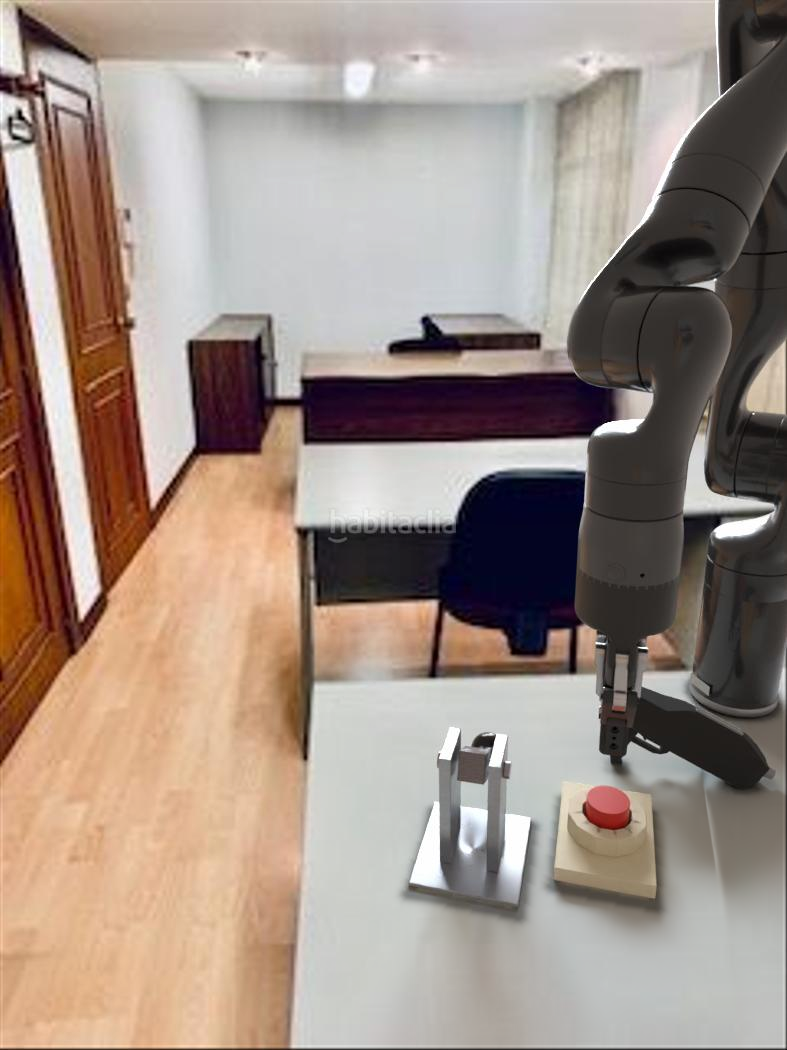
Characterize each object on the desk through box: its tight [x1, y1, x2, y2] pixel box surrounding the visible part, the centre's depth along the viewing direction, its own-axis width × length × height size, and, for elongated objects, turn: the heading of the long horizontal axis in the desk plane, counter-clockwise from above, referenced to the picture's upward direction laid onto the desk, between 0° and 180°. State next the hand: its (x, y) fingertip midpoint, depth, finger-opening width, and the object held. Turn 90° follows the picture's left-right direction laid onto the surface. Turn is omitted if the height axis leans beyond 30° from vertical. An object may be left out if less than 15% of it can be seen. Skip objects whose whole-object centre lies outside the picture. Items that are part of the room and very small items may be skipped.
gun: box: [609, 686, 777, 791], centre depth 75 cm, size 3×16×10 cm, turn 78°
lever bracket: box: [408, 726, 532, 908], centre depth 64 cm, size 10×9×12 cm
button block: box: [553, 780, 658, 900], centre depth 66 cm, size 11×8×4 cm
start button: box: [586, 785, 630, 830], centre depth 65 cm, size 4×4×2 cm
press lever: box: [457, 731, 497, 786], centre depth 67 cm, size 12×3×3 cm, turn 164°
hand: (612, 749), depth 64 cm, fingers closed
